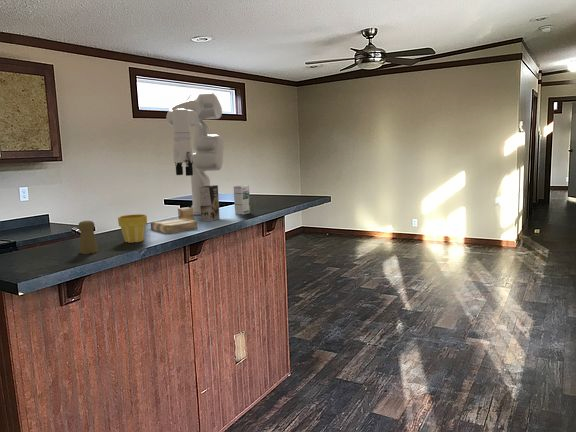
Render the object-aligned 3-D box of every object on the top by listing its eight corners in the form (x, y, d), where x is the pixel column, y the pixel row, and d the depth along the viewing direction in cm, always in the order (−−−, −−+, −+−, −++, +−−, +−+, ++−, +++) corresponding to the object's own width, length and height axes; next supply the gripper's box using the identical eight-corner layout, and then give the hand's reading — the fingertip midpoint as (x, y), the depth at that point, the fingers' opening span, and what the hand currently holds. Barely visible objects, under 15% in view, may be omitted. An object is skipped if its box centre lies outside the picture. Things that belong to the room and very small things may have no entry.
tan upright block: (178, 223, 221) (177, 208, 220) (188, 221, 225) (187, 207, 224) (184, 224, 217) (183, 209, 216) (194, 223, 221) (193, 208, 220)
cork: (101, 251, 167) (98, 220, 165) (84, 254, 162) (81, 223, 161) (93, 249, 171) (90, 219, 169) (76, 252, 166) (73, 221, 165)
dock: (150, 228, 209) (149, 221, 209) (179, 224, 218) (178, 217, 217) (167, 233, 197) (167, 225, 196) (197, 228, 206) (197, 221, 205)
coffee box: (213, 221, 224) (211, 186, 222) (200, 221, 226) (198, 187, 223) (220, 218, 233) (218, 185, 231) (207, 217, 234) (205, 185, 232)
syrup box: (243, 214, 241) (241, 186, 239) (234, 214, 245) (233, 185, 242) (250, 213, 246) (249, 185, 243) (242, 212, 249) (240, 184, 247)
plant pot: (128, 238, 189) (126, 213, 188) (153, 238, 188) (151, 213, 186) (114, 243, 179) (112, 218, 178) (140, 244, 177) (138, 218, 176)
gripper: (166, 137, 219) (168, 175, 221) (183, 136, 205) (185, 176, 208) (181, 137, 223) (183, 174, 226) (198, 136, 210) (201, 175, 212)
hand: (184, 175), depth 217 cm, fingers open, 9 cm apart
